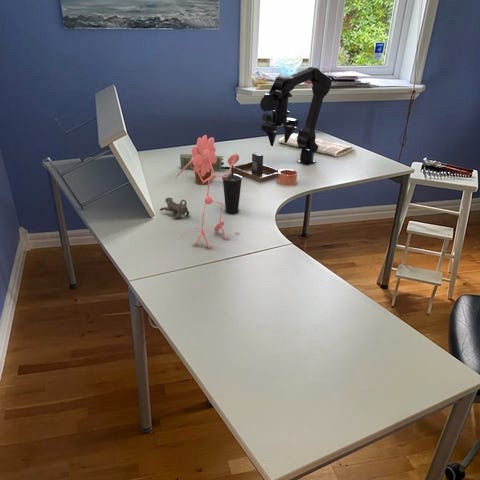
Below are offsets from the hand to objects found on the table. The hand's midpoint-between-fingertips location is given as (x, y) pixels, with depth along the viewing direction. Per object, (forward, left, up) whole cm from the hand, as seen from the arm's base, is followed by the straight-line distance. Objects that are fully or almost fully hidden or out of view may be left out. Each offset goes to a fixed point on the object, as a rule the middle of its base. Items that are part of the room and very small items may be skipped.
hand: (278, 144), depth 227 cm
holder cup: (+9, +15, -12) cm, 22 cm away
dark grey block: (+12, -1, -12) cm, 17 cm away
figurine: (+73, +35, -12) cm, 82 cm away
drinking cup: (+50, +24, -12) cm, 57 cm away
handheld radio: (+26, -21, -12) cm, 36 cm away
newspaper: (-45, -14, -12) cm, 48 cm away
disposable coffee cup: (+38, -9, -12) cm, 41 cm away
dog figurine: (+69, +13, -12) cm, 71 cm away
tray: (+12, -1, -12) cm, 17 cm away
